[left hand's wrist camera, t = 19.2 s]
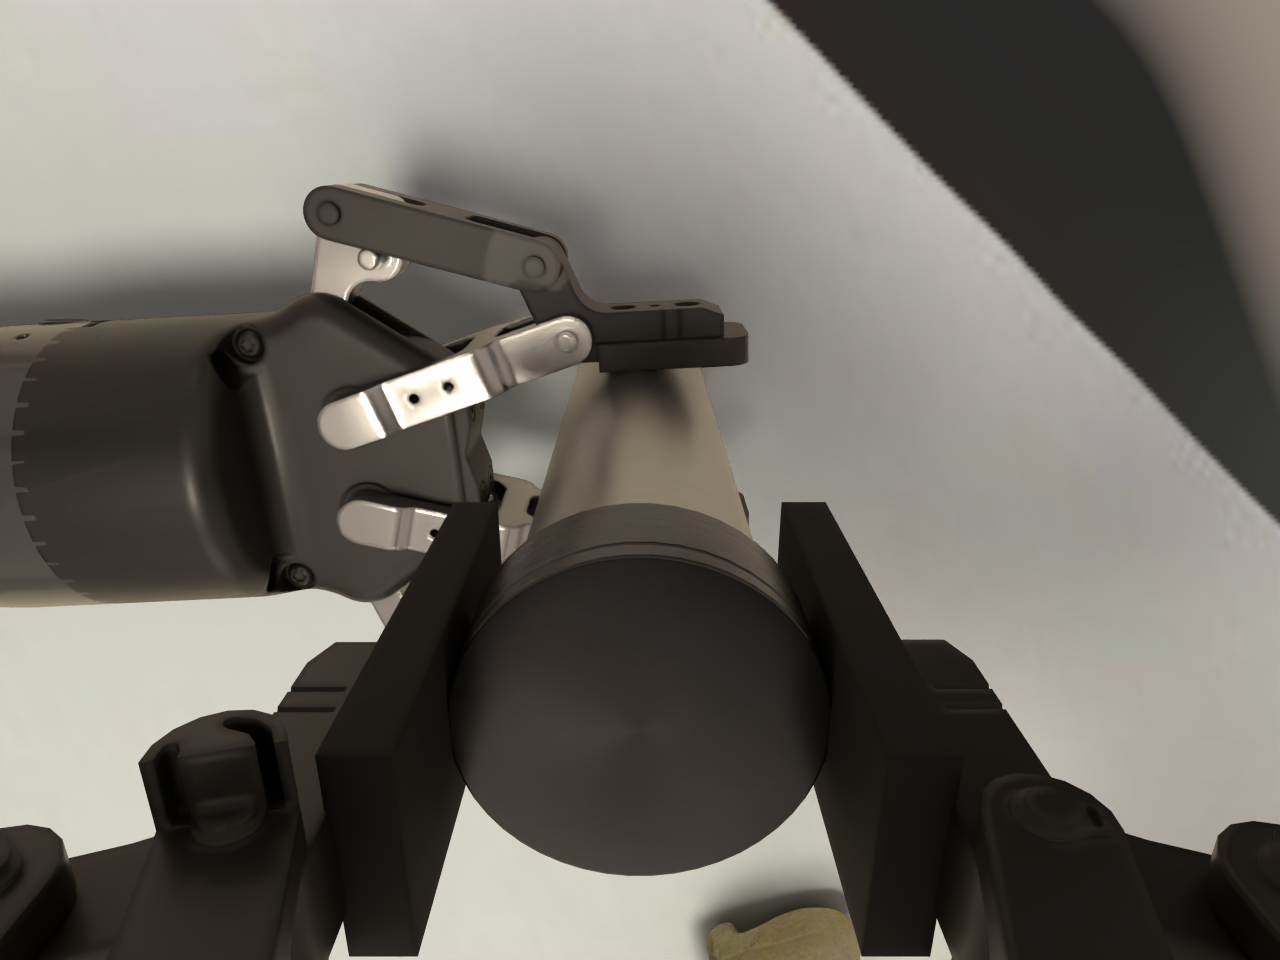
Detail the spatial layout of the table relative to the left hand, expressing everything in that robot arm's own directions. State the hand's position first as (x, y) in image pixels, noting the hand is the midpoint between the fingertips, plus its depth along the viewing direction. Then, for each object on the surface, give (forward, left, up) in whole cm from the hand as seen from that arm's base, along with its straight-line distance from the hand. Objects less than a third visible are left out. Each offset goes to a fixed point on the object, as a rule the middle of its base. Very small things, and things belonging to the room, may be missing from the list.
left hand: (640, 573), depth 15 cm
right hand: (-2, -2, -8) cm, 8 cm away
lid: (0, 0, +4) cm, 4 cm away
